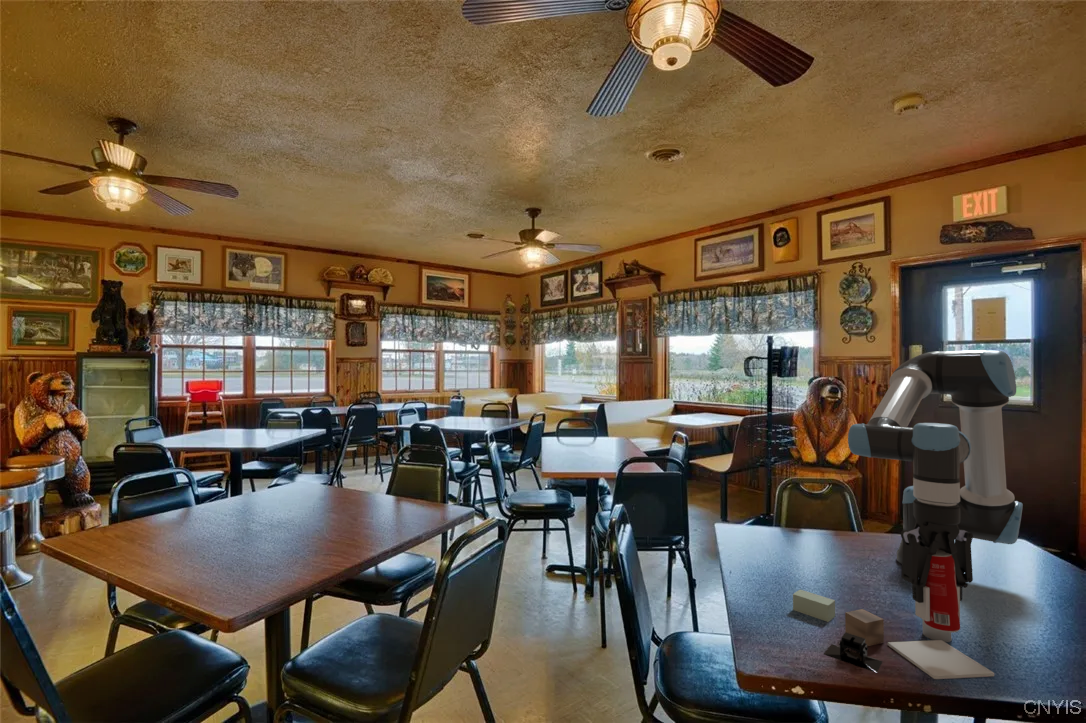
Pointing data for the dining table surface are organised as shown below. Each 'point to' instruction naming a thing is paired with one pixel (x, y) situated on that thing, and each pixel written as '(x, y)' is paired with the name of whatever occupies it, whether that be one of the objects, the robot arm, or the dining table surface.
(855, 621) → the walnut block
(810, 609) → the sage brick
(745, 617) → the dining table surface
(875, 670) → the black angular piece
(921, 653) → the tile
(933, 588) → the beverage can
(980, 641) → the dining table surface
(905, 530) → the robot arm
